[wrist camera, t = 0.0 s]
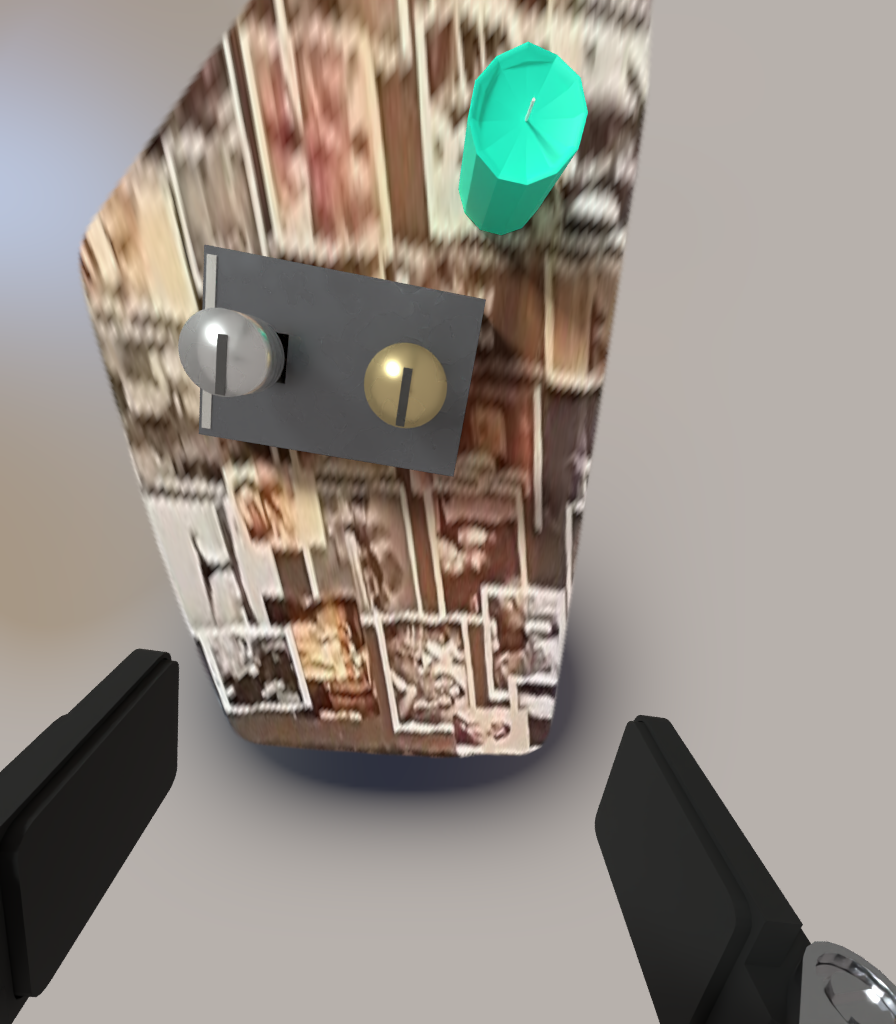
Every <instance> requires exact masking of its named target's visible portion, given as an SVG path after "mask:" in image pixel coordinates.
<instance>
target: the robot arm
mask: <svg viewBox="0 0 896 1024" xmlns="http://www.w3.org/2000/svg"><path fill="white" fill-rule="evenodd" d="M178 689H179V664H178V662H176V661H171V656H170V654H169V653H167V652H161V651H153V650H146V649H136V650H135V651H133V652H132V653H131V654H130V655H129V656H128V657H127V658H126V659H125V660H124V661H122V663H120V664H119V665H118V666H117V667H116V668H115V669H114V670H113V671H112V672H111V673H110V674H109V675H108V676H107V677H106V678H105V679H104V680H103V681H101V682H100V683H99V684H98V685H97V686H96V687H95V688H94V689H93V690H92V691H91V692H90V693H89V694H88V695H87V696H86V697H85V698H84V699H83V700H82V701H80V703H78V704H77V705H76V706H75V707H74V708H73V709H72V710H71V711H70V712H69V713H68V714H66V715H63V716H61V717H60V718H58V719H57V720H56V721H54V722H53V723H52V724H51V725H50V726H49V727H48V728H47V729H46V730H45V731H43V732H42V733H41V734H40V735H39V736H38V737H37V738H36V739H35V740H34V741H33V742H32V743H31V744H30V745H29V746H28V747H26V748H25V750H23V751H22V752H21V753H20V754H19V755H18V756H17V757H16V758H15V759H14V760H13V761H12V762H10V763H9V764H8V765H7V766H6V767H5V768H4V769H3V770H2V771H1V772H0V1024H12V1022H13V1021H14V1019H15V1018H16V1016H17V1015H18V1013H19V1011H20V1010H21V1008H22V1007H23V1005H24V1004H25V1002H26V1001H27V999H28V997H37V996H38V995H40V994H41V993H42V992H43V991H44V989H45V988H46V987H47V985H48V984H49V982H50V981H51V979H52V978H53V976H54V975H55V973H56V971H57V970H58V968H59V966H60V965H61V963H62V961H63V960H64V959H65V957H66V955H67V954H68V952H69V950H70V949H71V947H72V946H73V944H74V942H75V940H76V939H77V938H78V936H79V934H80V933H81V931H82V930H83V928H84V926H85V925H86V923H87V922H88V920H89V918H90V917H91V915H92V914H93V912H94V910H95V909H96V907H97V905H98V904H99V902H100V901H101V899H102V897H103V896H104V894H105V893H106V891H107V889H108V888H109V886H110V884H111V883H112V881H113V880H114V878H115V877H116V875H117V873H118V872H119V870H120V869H121V867H122V865H123V864H124V862H125V860H126V859H127V857H128V856H129V854H130V852H131V851H132V849H133V848H134V846H135V845H136V843H137V841H138V840H139V838H140V836H141V835H142V833H143V832H144V830H145V828H146V827H147V825H148V824H149V822H150V820H151V819H152V817H153V816H154V814H155V812H156V811H157V809H158V808H159V806H160V804H161V803H162V801H163V800H164V798H165V796H166V795H167V793H168V791H169V790H170V788H171V786H172V784H173V781H174V779H175V776H176V771H177V747H178V746H177V744H178ZM595 832H596V836H597V840H598V843H599V845H600V848H601V851H602V854H603V857H604V860H605V863H606V866H607V869H608V872H609V875H610V878H611V881H612V884H613V887H614V890H615V893H616V895H617V898H618V901H619V904H620V907H621V910H622V913H623V916H624V919H625V922H626V925H627V927H628V931H629V934H630V937H631V939H632V942H633V945H634V948H635V951H636V954H637V957H638V960H639V963H640V966H641V969H642V972H643V975H644V978H645V981H646V983H647V986H648V989H649V992H650V995H651V998H652V1001H653V1004H654V1007H655V1010H656V1013H657V1016H658V1019H659V1022H660V1024H896V986H895V985H894V984H893V983H892V982H891V981H890V980H889V979H888V978H887V977H886V976H885V975H884V974H882V972H881V971H880V970H878V969H877V968H876V967H874V966H873V965H872V964H870V963H869V962H868V961H866V960H865V959H864V958H862V957H861V956H859V955H857V954H856V953H854V952H852V951H850V950H849V949H847V948H845V947H843V946H840V945H837V944H834V943H830V942H814V943H812V944H811V943H810V942H809V940H808V939H807V937H806V935H805V934H804V932H803V931H802V929H801V927H802V925H803V924H802V922H801V921H800V919H799V918H798V916H797V915H796V914H795V912H794V910H793V909H792V907H791V906H790V905H789V903H788V901H787V900H786V898H785V897H784V895H783V894H782V892H781V890H780V889H779V887H778V886H777V884H776V883H775V881H774V880H773V878H772V877H771V875H770V874H769V872H768V871H767V869H766V868H765V866H764V864H763V863H762V861H761V860H760V858H759V857H758V855H757V854H756V852H755V851H754V849H753V848H752V846H751V845H750V843H749V842H748V840H747V838H746V837H745V836H744V834H743V833H742V831H741V829H740V828H739V827H738V825H737V823H736V822H735V820H734V819H733V817H732V816H731V814H730V813H729V811H728V809H727V808H726V807H725V805H724V804H723V802H722V800H721V799H720V797H719V796H718V794H717V793H716V791H715V790H714V788H713V787H712V785H711V783H710V782H709V780H708V779H707V778H706V776H705V774H704V773H703V771H702V770H701V768H700V767H699V765H698V764H697V762H696V761H695V759H694V758H693V756H692V755H691V753H690V752H689V750H688V748H687V747H686V745H685V744H684V742H683V741H682V739H681V738H680V736H679V735H678V733H677V732H676V730H675V729H674V727H673V725H672V724H671V723H670V722H669V720H667V719H665V718H660V717H652V716H644V715H639V716H637V717H636V718H635V720H634V721H629V722H628V723H627V726H626V728H625V731H624V734H623V737H622V740H621V743H620V746H619V749H618V752H617V755H616V758H615V760H614V763H613V767H612V769H611V772H610V775H609V778H608V781H607V784H606V787H605V790H604V793H603V796H602V799H601V802H600V805H599V808H598V812H597V814H596V818H595Z"/></svg>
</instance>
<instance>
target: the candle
mask: <svg viewBox="0 0 896 1024" xmlns="http://www.w3.org/2000/svg"><path fill="white" fill-rule="evenodd" d="M587 114H588V111H587V106H586V101H585V97H584V92H583V87H582V82H581V77H580V76H579V75H577V74H576V73H575V72H574V71H573V70H572V69H571V68H570V67H569V66H568V65H567V64H566V63H565V62H564V61H563V60H562V59H561V58H560V57H559V56H558V55H556V54H554V53H552V52H550V51H547V50H545V49H543V48H541V47H539V46H536V45H534V44H532V43H530V42H526V43H524V44H522V45H520V46H518V47H516V48H514V49H511V50H509V51H507V52H505V53H503V54H501V55H498V56H496V58H495V59H494V60H493V61H492V62H491V63H490V64H489V66H488V67H487V68H486V69H485V70H484V71H483V72H482V74H481V75H480V76H479V77H478V78H477V79H476V81H475V85H474V90H473V95H472V100H471V105H470V110H469V115H468V122H467V129H466V137H465V144H464V152H463V159H462V167H461V174H460V182H459V193H460V197H461V201H462V204H463V208H464V212H465V214H466V215H467V216H468V217H469V218H470V219H471V220H472V221H473V222H474V224H475V225H476V226H477V227H478V228H479V229H480V230H483V231H487V232H491V233H494V234H498V235H504V234H507V233H509V232H512V231H515V230H518V229H521V228H523V226H524V225H525V224H526V223H527V222H528V221H529V219H530V218H531V217H532V216H533V215H534V214H535V212H536V211H537V210H538V209H539V207H540V206H541V204H542V203H543V201H544V200H545V198H546V197H547V195H548V194H549V192H550V191H551V189H552V188H553V186H554V185H555V183H556V182H557V180H558V179H559V177H560V176H561V174H562V173H563V171H564V170H565V168H566V167H567V165H568V164H569V162H570V161H571V159H572V158H573V156H574V155H575V153H576V152H577V150H578V148H579V145H580V141H581V137H582V133H583V129H584V125H585V122H586V118H587Z"/></svg>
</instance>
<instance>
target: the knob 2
mask: <svg viewBox="0 0 896 1024" xmlns="http://www.w3.org/2000/svg"><path fill="white" fill-rule="evenodd" d="M364 391H365V396H366V399H367V402H368V404H369V406H370V407H371V409H372V410H373V412H374V413H375V414H376V415H377V416H378V417H379V418H380V419H381V420H383V421H384V422H386V423H388V424H390V425H392V426H395V427H399V428H414V427H418V426H421V425H423V424H425V423H427V422H429V421H430V420H431V419H433V418H434V417H435V416H436V415H437V414H438V412H439V411H440V409H441V408H442V406H443V404H444V401H445V398H446V393H447V380H446V375H445V372H444V369H443V367H442V365H441V363H440V362H439V360H438V359H437V358H436V357H435V356H434V355H433V354H432V353H431V352H430V351H429V350H427V349H425V348H424V347H422V346H419V345H416V344H412V343H397V344H393V345H390V346H388V347H386V348H384V349H382V350H381V351H380V352H378V353H377V354H376V355H375V356H374V358H373V359H372V360H371V362H370V363H369V365H368V368H367V370H366V373H365V378H364Z"/></svg>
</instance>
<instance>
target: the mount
mask: <svg viewBox="0 0 896 1024" xmlns="http://www.w3.org/2000/svg"><path fill="white" fill-rule="evenodd" d="M485 301H486V300H485V299H480V298H475V297H470V296H465V295H459V294H454V293H449V292H444V291H439V290H434V289H429V288H424V287H419V286H414V285H408V284H403V283H398V282H393V281H388V280H383V279H378V278H373V277H368V276H362V275H357V274H352V273H347V272H342V271H337V270H332V269H327V268H322V267H316V266H311V265H306V264H301V263H296V262H291V261H286V260H281V259H276V258H271V257H265V256H260V255H255V254H250V253H245V252H240V251H235V250H230V249H225V248H219V247H214V246H209V245H205V246H204V280H203V310H204V309H207V308H225V309H229V310H233V311H237V312H240V313H244V314H248V315H252V316H255V317H257V318H260V319H261V320H263V321H265V322H266V323H267V324H268V325H270V326H271V327H272V328H273V330H274V331H275V332H276V333H281V334H287V335H289V341H288V354H287V367H286V378H282V377H279V379H278V380H277V381H276V383H275V384H274V385H272V386H271V387H270V388H268V389H267V390H264V391H262V392H259V393H253V394H247V395H241V396H234V397H220V396H216V395H213V394H210V393H208V392H206V391H204V390H203V389H201V388H200V417H199V434H202V435H208V436H214V437H220V438H226V439H232V440H238V441H244V442H250V443H256V444H262V445H268V446H274V447H280V448H286V449H292V450H298V451H304V452H310V453H316V454H322V455H328V456H334V457H340V458H346V459H352V460H358V461H364V462H370V463H376V464H382V465H388V466H394V467H400V468H406V469H412V470H417V471H423V472H429V473H435V474H441V475H447V476H453V475H454V470H455V464H456V459H457V453H458V448H459V443H460V437H461V432H462V426H463V421H464V415H465V410H466V404H467V399H468V394H469V388H470V383H471V377H472V372H473V366H474V361H475V355H476V350H477V345H478V339H479V334H480V328H481V323H482V317H483V312H484V306H485ZM397 343H412V344H416V345H419V346H422V347H424V348H425V349H427V350H429V351H430V352H431V353H432V354H433V355H434V356H435V357H436V358H437V359H438V360H439V362H440V363H441V365H442V367H443V369H444V372H445V375H446V380H447V393H446V398H445V401H444V404H443V406H442V408H441V409H440V411H439V412H438V414H437V415H436V416H435V417H434V418H433V419H431V420H430V421H429V422H427V423H425V424H423V425H421V426H418V427H414V428H399V427H395V426H392V425H390V424H388V423H386V422H384V421H383V420H381V419H380V418H379V417H378V416H377V415H376V414H375V413H374V412H373V410H372V409H371V407H370V406H369V404H368V402H367V399H366V396H365V391H364V378H365V373H366V370H367V368H368V365H369V363H370V362H371V360H372V359H373V358H374V356H375V355H376V354H377V353H378V352H380V351H381V350H382V349H384V348H386V347H388V346H390V345H393V344H397Z"/></svg>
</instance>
